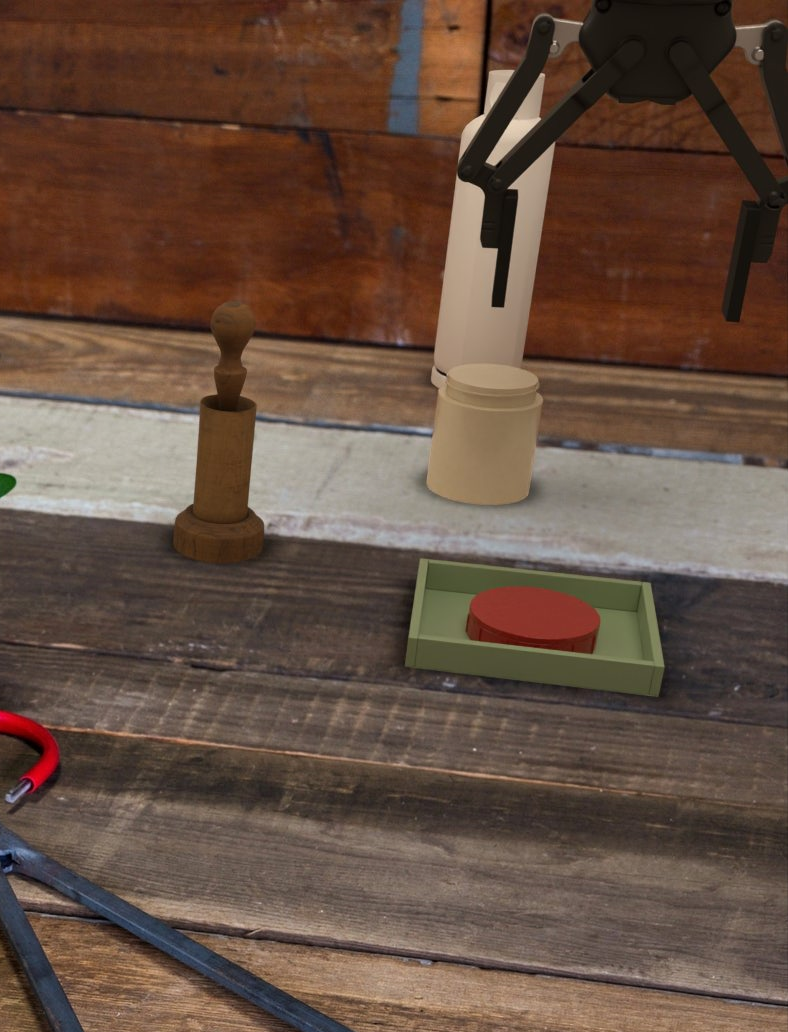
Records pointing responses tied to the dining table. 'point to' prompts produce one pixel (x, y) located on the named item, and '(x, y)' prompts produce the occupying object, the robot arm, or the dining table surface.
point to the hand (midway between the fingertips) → (612, 309)
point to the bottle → (492, 253)
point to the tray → (612, 666)
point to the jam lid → (533, 619)
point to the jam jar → (485, 434)
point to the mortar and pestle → (224, 455)
